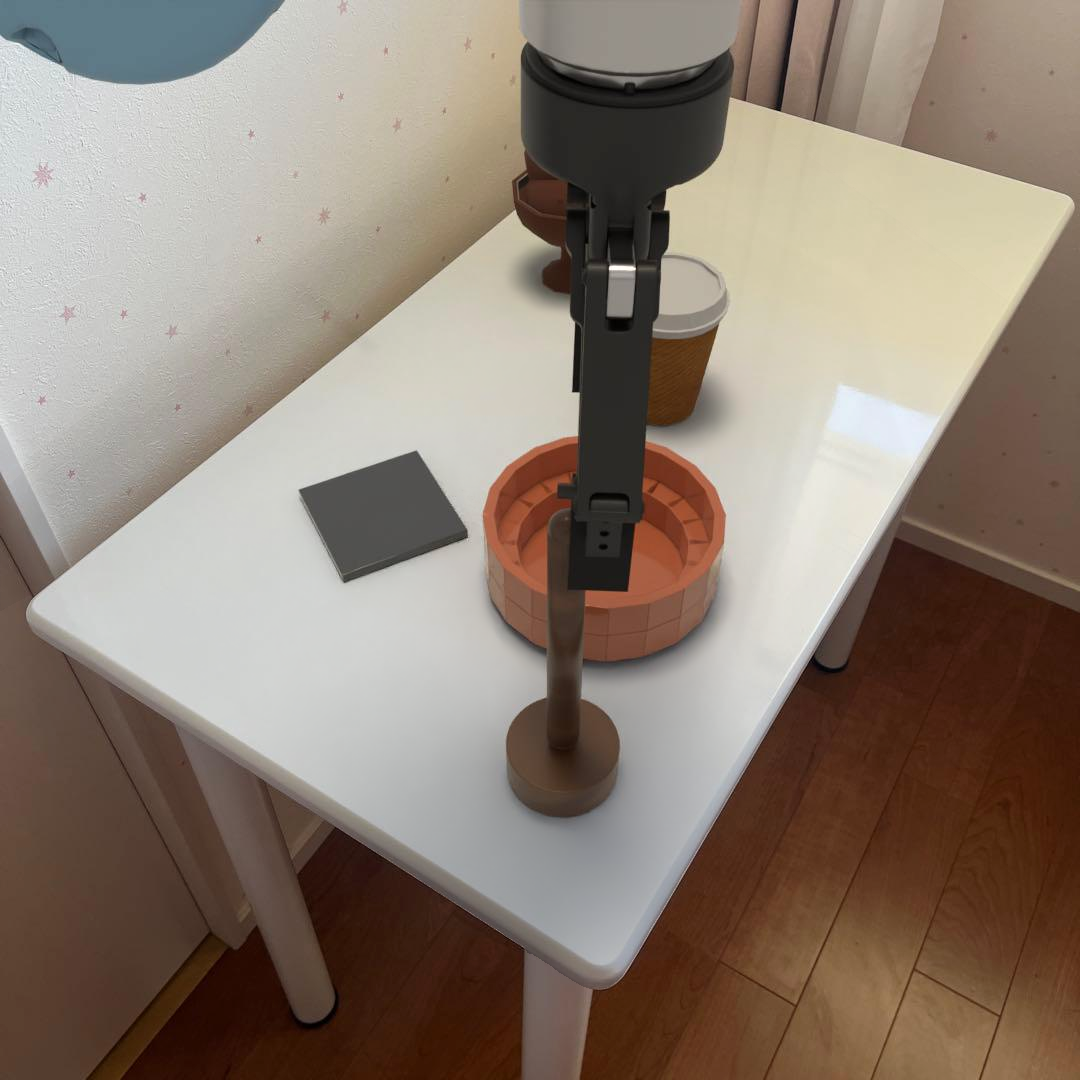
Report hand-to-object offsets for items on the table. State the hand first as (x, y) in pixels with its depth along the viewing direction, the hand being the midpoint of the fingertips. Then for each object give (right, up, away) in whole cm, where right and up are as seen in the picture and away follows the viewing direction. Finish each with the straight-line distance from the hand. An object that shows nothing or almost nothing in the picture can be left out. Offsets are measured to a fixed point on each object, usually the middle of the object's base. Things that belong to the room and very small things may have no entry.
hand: (597, 479), depth 54 cm
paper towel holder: (-1, -17, +16) cm, 24 cm away
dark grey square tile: (-15, -1, +31) cm, 34 cm away
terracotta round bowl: (+2, -6, +27) cm, 27 cm away
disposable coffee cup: (+7, +9, +40) cm, 42 cm away
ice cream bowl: (0, +22, +53) cm, 58 cm away
